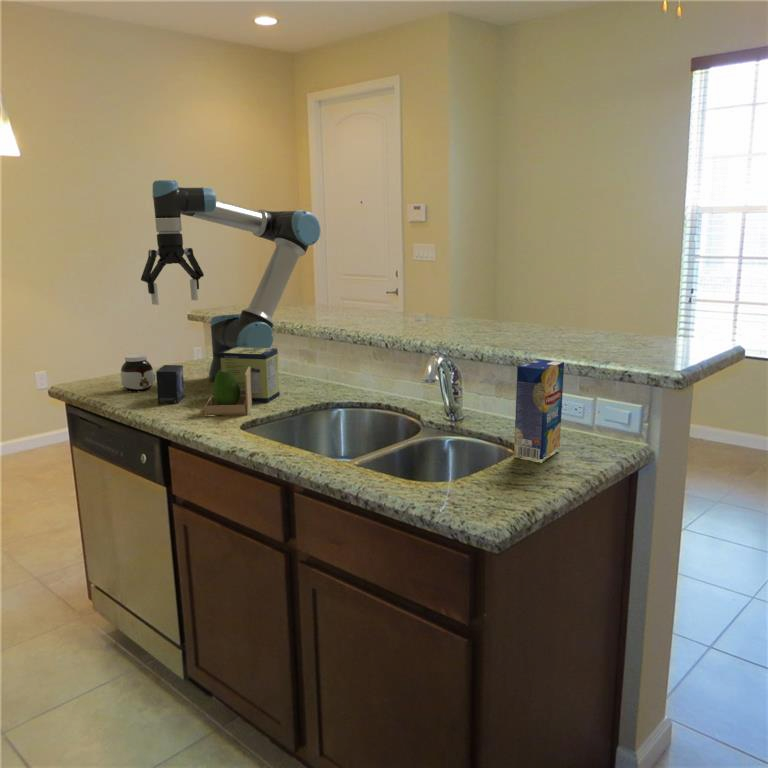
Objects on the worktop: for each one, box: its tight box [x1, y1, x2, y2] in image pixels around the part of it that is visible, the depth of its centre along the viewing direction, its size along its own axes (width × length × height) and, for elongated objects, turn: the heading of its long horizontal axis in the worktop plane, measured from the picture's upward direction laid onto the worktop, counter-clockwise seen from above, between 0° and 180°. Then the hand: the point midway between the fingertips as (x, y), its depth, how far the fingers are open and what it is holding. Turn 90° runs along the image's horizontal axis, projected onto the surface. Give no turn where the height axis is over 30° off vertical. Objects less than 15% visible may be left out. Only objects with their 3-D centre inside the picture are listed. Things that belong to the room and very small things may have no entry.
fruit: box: [212, 369, 240, 405], centre depth 208 cm, size 8×8×12 cm
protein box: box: [220, 347, 281, 404], centre depth 223 cm, size 10×16×16 cm
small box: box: [155, 364, 186, 404], centre depth 222 cm, size 11×6×10 cm, turn 4°
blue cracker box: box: [513, 358, 565, 459], centre depth 165 cm, size 7×11×22 cm, turn 144°
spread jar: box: [120, 353, 157, 393], centre depth 238 cm, size 12×11×12 cm
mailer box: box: [203, 367, 253, 416], centre depth 208 cm, size 12×12×12 cm
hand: (175, 302), depth 221 cm, fingers open, 13 cm apart
